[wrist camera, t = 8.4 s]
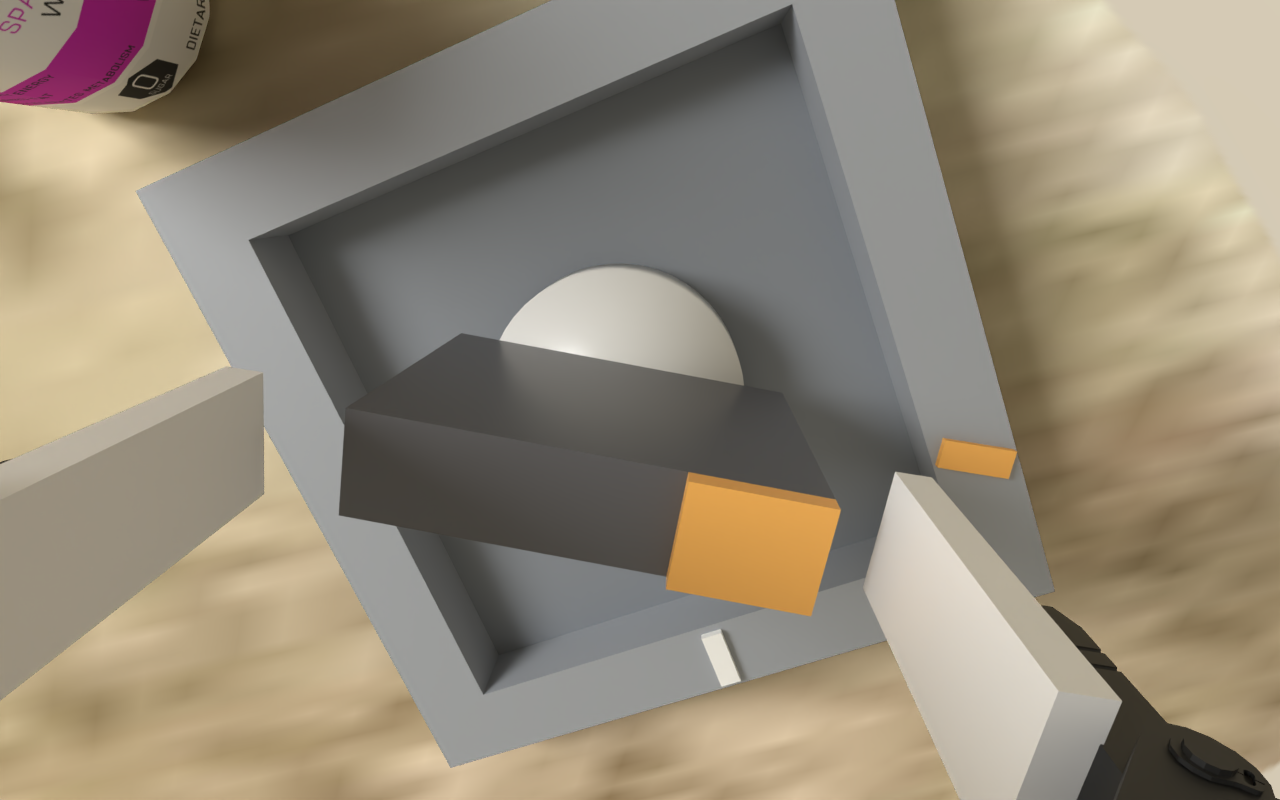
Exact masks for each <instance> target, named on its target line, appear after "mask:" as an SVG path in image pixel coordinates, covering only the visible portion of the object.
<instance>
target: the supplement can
mask: <svg viewBox="0 0 1280 800" xmlns="http://www.w3.org/2000/svg"><path fill="white" fill-rule="evenodd" d="M209 17H210V4H209V0H0V102H6V103H14V104H22V105H29V106H37V107H45V108H52V109H60V110H68V111H75V112H83V113H90V114H95V113H113V112H131V111H135V110H137V109H139V108H141V107H143V106H145V105H147V104H149V103H151V102H153V101H155V100H157V99H159V98H161V97H163V96H165V95H167V94H169V93H170V92H171V91H172V90H173V88H174V87H175V86H176V85H177V83H178V82H179V81H180V80H181V78H182V77H183V76H184V75H185V73H186V72H187V71H188V70H189V68H190V67H191V66H192V65H193V63H194V62H195V61H196V59H197V56H198V53H199V49H200V46H201V43H202V40H203V36H204V33H205V30H206V26H207V23H208V20H209Z"/></svg>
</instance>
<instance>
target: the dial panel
mask: <svg viewBox="0 0 1280 800" xmlns="http://www.w3.org/2000/svg"><path fill="white" fill-rule="evenodd" d="M136 193H137V195H138V196H139V198H140V200H141V202H142V204H143V206H144V207H145V209H146V211H147V213H148V215H149V216H150V218H151V220H152V222H153V224H154V226H155V227H156V229H157V231H158V233H159V235H160V237H161V238H162V240H163V242H164V244H165V246H166V248H167V249H168V251H169V253H170V255H171V257H172V259H173V260H174V262H175V264H176V266H177V268H178V270H179V271H180V273H181V275H182V277H183V279H184V281H185V282H186V284H187V286H188V288H189V290H190V292H191V293H192V295H193V297H194V299H195V301H196V303H197V304H198V306H199V308H200V310H201V312H202V314H203V315H204V317H205V319H206V321H207V323H208V324H209V326H210V328H211V330H212V332H213V334H214V335H215V337H216V339H217V341H218V343H219V345H220V346H221V348H222V350H223V352H224V354H225V356H226V357H227V359H228V361H229V363H230V365H231V367H232V368H239V369H245V370H252V371H258V372H263V403H264V427H265V429H266V431H267V433H268V434H269V436H270V438H271V440H272V442H273V443H274V445H275V447H276V449H277V451H278V453H279V454H280V456H281V458H282V460H283V462H284V464H285V465H286V467H287V469H288V471H289V473H290V475H291V476H292V478H293V480H294V482H295V484H296V486H297V487H298V489H299V491H300V493H301V495H302V497H303V498H304V500H305V502H306V504H307V506H308V508H309V509H310V511H311V513H312V515H313V517H314V519H315V520H316V522H317V524H318V526H319V528H320V530H321V531H322V533H323V535H324V537H325V539H326V541H327V542H328V544H329V546H330V548H331V550H332V552H333V553H334V555H335V557H336V559H337V561H338V562H339V564H340V566H341V568H342V570H343V572H344V573H345V575H346V577H347V579H348V581H349V583H350V584H351V586H352V588H353V590H354V592H355V594H356V595H357V597H358V599H359V601H360V603H361V605H362V606H363V608H364V610H365V612H366V614H367V616H368V617H369V619H370V621H371V623H372V625H373V627H374V628H375V630H376V632H377V634H378V636H379V638H380V639H381V641H382V643H383V645H384V647H385V649H386V650H387V652H388V654H389V656H390V658H391V660H392V661H393V663H394V665H395V667H396V669H397V670H398V672H399V674H400V676H401V678H402V680H403V681H404V683H405V685H406V687H407V689H408V691H409V692H410V694H411V696H412V698H413V700H414V702H415V703H416V705H417V707H418V709H419V711H420V713H421V714H422V716H423V718H424V720H425V722H426V724H427V725H428V727H429V729H430V731H431V733H432V735H433V736H434V738H435V740H436V742H437V744H438V746H439V747H440V749H441V751H442V753H443V755H444V757H445V758H446V760H447V762H448V764H449V766H450V768H452V767H455V766H458V765H462V764H465V763H469V762H472V761H476V760H479V759H482V758H486V757H489V756H493V755H496V754H500V753H503V752H506V751H510V750H513V749H517V748H520V747H524V746H527V745H530V744H534V743H537V742H541V741H544V740H547V739H551V738H554V737H558V736H561V735H565V734H568V733H571V732H575V731H578V730H582V729H585V728H589V727H592V726H595V725H599V724H602V723H606V722H609V721H613V720H616V719H619V718H623V717H626V716H630V715H633V714H637V713H640V712H643V711H647V710H650V709H654V708H657V707H661V706H664V705H667V704H671V703H674V702H678V701H681V700H685V699H688V698H691V697H695V696H698V695H702V694H705V693H708V692H712V691H715V690H719V689H722V688H726V687H729V686H732V685H736V684H739V683H743V682H746V681H750V680H753V679H756V678H760V677H763V676H767V675H770V674H774V673H777V672H780V671H784V670H787V669H791V668H794V667H798V666H801V665H804V664H808V663H811V662H815V661H818V660H822V659H825V658H828V657H832V656H835V655H839V654H842V653H846V652H849V651H852V650H856V649H859V648H863V647H866V646H870V645H873V644H876V643H880V642H883V641H887V639H886V637H885V635H884V633H883V631H882V629H881V626H880V624H879V622H878V620H877V618H876V615H875V613H874V611H873V609H872V607H871V604H870V602H869V600H868V598H867V596H866V594H865V591H864V589H863V585H864V581H865V578H866V574H867V571H868V567H869V564H870V560H871V556H872V553H873V549H874V546H875V542H876V538H877V535H878V531H879V528H880V524H881V521H882V517H883V513H884V510H885V506H886V503H887V499H888V496H889V492H890V488H891V485H892V481H893V478H894V474H895V472H901V473H907V474H913V475H920V476H926V477H932V478H933V479H934V480H935V482H936V483H937V484H938V485H939V486H940V488H941V489H942V490H943V491H944V492H945V493H946V495H947V496H948V497H949V498H950V499H951V500H952V502H953V503H954V504H955V505H956V506H957V507H958V509H959V510H960V511H961V512H962V513H963V515H964V516H965V517H966V518H967V519H968V520H969V522H970V523H971V524H972V525H973V526H974V527H975V529H976V530H977V531H978V532H979V533H980V535H981V536H982V537H983V538H984V539H985V540H986V542H987V543H988V544H989V545H990V546H991V547H992V549H993V550H994V551H995V552H996V553H997V555H998V556H999V557H1000V558H1001V559H1002V560H1003V562H1004V563H1005V564H1006V565H1007V566H1008V567H1009V569H1010V570H1011V571H1012V572H1013V573H1014V575H1015V576H1016V577H1017V578H1018V579H1019V580H1020V582H1021V583H1022V584H1023V585H1024V586H1025V587H1026V589H1027V590H1028V591H1029V592H1030V593H1031V594H1032V596H1033V597H1037V596H1041V595H1044V594H1048V593H1051V592H1055V590H1054V586H1053V582H1052V579H1051V575H1050V571H1049V568H1048V564H1047V560H1046V557H1045V553H1044V549H1043V546H1042V542H1041V538H1040V534H1039V531H1038V527H1037V523H1036V520H1035V516H1034V512H1033V509H1032V505H1031V501H1030V498H1029V494H1028V490H1027V486H1026V483H1025V479H1024V475H1023V472H1022V468H1021V464H1020V461H1019V457H1018V453H1017V450H1016V446H1015V442H1014V439H1013V435H1012V431H1011V427H1010V424H1009V420H1008V416H1007V413H1006V409H1005V405H1004V402H1003V398H1002V394H1001V391H1000V387H999V383H998V380H997V376H996V372H995V368H994V365H993V361H992V357H991V354H990V350H989V346H988V343H987V339H986V335H985V332H984V328H983V324H982V321H981V317H980V313H979V309H978V306H977V302H976V298H975V295H974V291H973V287H972V284H971V280H970V276H969V273H968V269H967V265H966V262H965V258H964V254H963V250H962V247H961V243H960V239H959V236H958V232H957V228H956V225H955V221H954V217H953V214H952V210H951V206H950V203H949V199H948V195H947V191H946V188H945V184H944V180H943V177H942V173H941V169H940V166H939V162H938V158H937V155H936V151H935V147H934V144H933V140H932V136H931V132H930V129H929V125H928V121H927V118H926V114H925V110H924V107H923V103H922V99H921V96H920V92H919V88H918V85H917V81H916V77H915V73H914V70H913V66H912V62H911V59H910V55H909V51H908V48H907V44H906V40H905V37H904V33H903V29H902V26H901V22H900V18H899V14H898V11H897V7H896V3H895V0H551V1H549V2H547V3H544V4H542V5H540V6H538V7H536V8H534V9H531V10H529V11H527V12H525V13H523V14H520V15H518V16H516V17H514V18H512V19H510V20H507V21H505V22H503V23H501V24H499V25H496V26H494V27H492V28H490V29H488V30H486V31H483V32H481V33H479V34H477V35H475V36H472V37H470V38H468V39H466V40H464V41H462V42H459V43H457V44H455V45H453V46H451V47H448V48H446V49H444V50H442V51H440V52H438V53H435V54H433V55H431V56H429V57H427V58H425V59H422V60H420V61H418V62H416V63H414V64H411V65H409V66H407V67H405V68H403V69H401V70H398V71H396V72H394V73H392V74H390V75H387V76H385V77H383V78H381V79H379V80H377V81H374V82H372V83H370V84H368V85H366V86H363V87H361V88H359V89H357V90H355V91H353V92H350V93H348V94H346V95H344V96H342V97H339V98H337V99H335V100H333V101H331V102H329V103H326V104H324V105H322V106H320V107H318V108H315V109H313V110H311V111H309V112H307V113H305V114H302V115H300V116H298V117H296V118H294V119H291V120H289V121H287V122H285V123H283V124H281V125H278V126H276V127H274V128H272V129H270V130H267V131H265V132H263V133H261V134H259V135H257V136H254V137H252V138H250V139H248V140H246V141H244V142H241V143H239V144H237V145H235V146H233V147H230V148H228V149H226V150H224V151H222V152H220V153H217V154H215V155H213V156H211V157H209V158H206V159H204V160H202V161H200V162H198V163H196V164H193V165H191V166H189V167H187V168H185V169H182V170H180V171H178V172H176V173H174V174H172V175H169V176H167V177H165V178H163V179H161V180H158V181H156V182H154V183H152V184H150V185H148V186H145V187H143V188H141V189H139V190H137V191H136ZM604 264H633V265H642V266H645V267H649V268H653V269H657V270H660V271H662V272H665V273H667V274H670V275H672V276H674V277H676V278H677V279H679V280H681V281H683V282H684V283H686V284H688V285H689V286H690V287H692V288H693V289H694V290H695V291H697V292H698V293H699V294H700V295H701V296H702V297H703V298H704V299H705V300H706V301H707V302H708V303H709V304H710V305H711V306H712V307H713V308H714V310H715V311H716V312H717V314H718V315H719V316H720V318H721V319H722V321H723V323H724V325H725V326H726V328H727V330H728V332H729V334H730V337H731V339H732V342H733V344H734V347H735V350H736V353H737V355H738V358H739V362H740V366H741V370H742V374H743V381H744V386H748V387H754V388H759V389H764V390H770V391H775V392H781V393H783V395H784V397H785V399H786V401H787V403H788V405H789V407H790V409H791V411H792V413H793V415H794V417H795V419H796V421H797V423H798V425H799V427H800V429H801V431H802V433H803V435H804V437H805V439H806V441H807V443H808V445H809V447H810V449H811V451H812V453H813V455H814V457H815V459H816V461H817V463H818V465H819V467H820V469H821V471H822V473H823V475H824V477H825V479H826V481H827V483H828V485H829V487H830V489H831V491H832V493H833V495H834V497H835V499H836V501H837V503H838V505H839V507H840V509H841V512H840V515H839V519H838V522H837V526H836V530H835V533H834V537H833V540H832V544H831V547H830V551H829V554H828V558H827V562H826V565H825V569H824V572H823V576H822V579H821V583H820V586H819V590H818V594H817V597H816V601H815V604H814V608H813V611H812V615H811V616H806V615H800V614H795V613H790V612H784V611H779V610H774V609H768V608H763V607H758V606H752V605H747V604H742V603H736V602H731V601H726V600H720V599H715V598H710V597H704V596H699V595H694V594H688V593H683V592H678V591H672V590H667V589H666V577H665V576H660V575H654V574H649V573H644V572H638V571H633V570H628V569H622V568H617V567H612V566H606V565H601V564H596V563H590V562H585V561H579V560H574V559H569V558H563V557H558V556H553V555H547V554H542V553H537V552H531V551H526V550H521V549H515V548H510V547H505V546H499V545H494V544H489V543H483V542H478V541H473V540H467V539H462V538H457V537H451V536H446V535H441V534H435V533H430V532H425V531H419V530H414V529H409V528H403V527H398V526H392V525H387V524H382V523H376V522H371V521H366V520H360V519H355V518H350V517H344V516H339V502H340V486H341V471H342V455H343V440H344V424H345V409H346V407H348V406H349V405H351V404H352V403H354V402H356V401H357V400H359V399H360V398H362V397H363V396H365V395H366V394H368V393H369V392H371V391H373V390H374V389H376V388H377V387H379V386H380V385H382V384H383V383H385V382H386V381H388V380H390V379H391V378H393V377H394V376H396V375H397V374H399V373H400V372H402V371H403V370H405V369H407V368H408V367H410V366H411V365H413V364H414V363H416V362H417V361H419V360H420V359H422V358H424V357H425V356H427V355H428V354H430V353H431V352H433V351H434V350H436V349H437V348H439V347H441V346H442V345H444V344H445V343H447V342H448V341H450V340H451V339H453V338H454V337H456V336H458V335H459V334H461V333H464V334H469V335H475V336H480V337H485V338H491V339H496V340H500V338H501V336H502V334H503V332H504V330H505V329H506V327H507V326H508V325H509V323H510V322H511V320H512V319H513V317H514V316H515V315H516V314H517V313H518V312H519V311H520V310H521V308H522V307H523V306H524V305H525V304H526V303H527V302H529V301H530V300H531V299H532V298H534V297H535V296H536V295H537V294H538V293H540V292H541V291H543V290H544V289H545V288H547V287H548V286H550V285H551V284H553V283H554V282H556V281H558V280H559V279H561V278H562V277H564V276H567V275H569V274H571V273H573V272H576V271H578V270H581V269H585V268H588V267H592V266H597V265H604Z"/></svg>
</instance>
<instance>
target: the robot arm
mask: <svg viewBox="0 0 1280 800" xmlns="http://www.w3.org/2000/svg"><path fill="white" fill-rule="evenodd" d="M263 494H264V403H263V372H258V371H252V370H245V369H239V368H232V367H224V368H222V369H219V370H217V371H215V372H212V373H210V374H208V375H206V376H203V377H201V378H199V379H196V380H194V381H192V382H189V383H187V384H185V385H182V386H180V387H178V388H175V389H173V390H171V391H169V392H166V393H164V394H162V395H159V396H157V397H155V398H152V399H150V400H148V401H145V402H143V403H141V404H138V405H136V406H134V407H132V408H129V409H127V410H125V411H122V412H120V413H118V414H115V415H113V416H111V417H108V418H106V419H104V420H101V421H99V422H97V423H95V424H92V425H90V426H88V427H85V428H83V429H81V430H78V431H76V432H74V433H71V434H69V435H67V436H64V437H62V438H60V439H58V440H55V441H53V442H51V443H48V444H46V445H44V446H41V447H39V448H37V449H34V450H32V451H30V452H27V453H25V454H23V455H21V456H18V457H16V458H14V459H10V460H6V461H2V462H0V700H2V699H3V698H4V697H6V696H7V695H8V694H9V693H11V692H12V691H13V690H14V689H16V688H17V687H18V686H20V685H21V684H22V683H23V682H25V681H26V680H27V679H28V678H30V677H31V676H32V675H34V674H35V673H36V672H37V671H39V670H40V669H41V668H43V667H44V666H45V665H46V664H48V663H49V662H50V661H51V660H53V659H54V658H55V657H57V656H58V655H59V654H60V653H62V652H63V651H64V650H66V649H67V648H68V647H69V646H71V645H72V644H73V643H74V642H76V641H77V640H78V639H80V638H81V637H82V636H83V635H85V634H86V633H87V632H88V631H90V630H91V629H92V628H94V627H95V626H96V625H97V624H99V623H100V622H101V621H103V620H104V619H105V618H106V617H108V616H109V615H110V614H111V613H113V612H114V611H115V610H117V609H118V608H119V607H120V606H122V605H123V604H124V603H125V602H127V601H128V600H129V599H131V598H132V597H133V596H134V595H136V594H137V593H138V592H140V591H141V590H142V589H143V588H145V587H146V586H147V585H148V584H150V583H151V582H152V581H154V580H155V579H156V578H157V577H159V576H160V575H161V574H162V573H164V572H165V571H166V570H168V569H169V568H170V567H171V566H173V565H174V564H175V563H177V562H178V561H179V560H180V559H182V558H183V557H184V556H185V555H187V554H188V553H189V552H191V551H192V550H193V549H194V548H196V547H197V546H198V545H200V544H201V543H202V542H203V541H205V540H206V539H207V538H208V537H210V536H211V535H212V534H214V533H215V532H216V531H217V530H219V529H220V528H221V527H222V526H224V525H225V524H226V523H228V522H229V521H230V520H231V519H233V518H234V517H235V516H237V515H238V514H239V513H240V512H242V511H243V510H244V509H245V508H247V507H248V506H249V505H251V504H252V503H253V502H254V501H256V500H257V499H258V498H259V497H261V496H262V495H263ZM863 589H864V591H865V594H866V596H867V598H868V600H869V602H870V604H871V607H872V609H873V611H874V613H875V615H876V618H877V620H878V622H879V624H880V626H881V629H882V631H883V633H884V635H885V637H886V639H887V642H888V644H889V646H890V648H891V650H892V653H893V655H894V657H895V659H896V661H897V663H898V666H899V668H900V670H901V672H902V674H903V677H904V679H905V681H906V683H907V685H908V688H909V690H910V692H911V694H912V696H913V698H914V701H915V703H916V705H917V707H918V709H919V712H920V714H921V716H922V718H923V720H924V722H925V725H926V727H927V729H928V731H929V733H930V736H931V738H932V740H933V742H934V744H935V747H936V749H937V751H938V753H939V755H940V757H941V760H942V762H943V764H944V766H945V768H946V771H947V773H948V775H949V777H950V779H951V781H952V784H953V786H954V788H955V790H956V792H957V795H958V797H959V799H960V800H1280V799H1277V798H1275V796H1274V793H1273V790H1272V787H1271V785H1270V784H1269V783H1268V781H1267V780H1266V779H1265V778H1264V777H1263V775H1262V774H1261V773H1260V772H1259V771H1258V770H1257V768H1255V767H1254V766H1253V765H1252V764H1250V763H1249V762H1248V761H1246V760H1245V759H1244V758H1243V757H1241V756H1240V755H1239V754H1238V753H1236V752H1235V751H1233V750H1231V749H1230V748H1228V747H1226V746H1224V745H1223V744H1221V743H1219V742H1218V741H1216V740H1214V739H1212V738H1211V737H1208V736H1206V735H1203V734H1201V733H1198V732H1196V731H1194V730H1191V729H1189V728H1186V727H1181V726H1177V725H1173V724H1168V723H1167V722H1166V721H1165V720H1164V719H1163V718H1162V717H1161V716H1160V715H1159V714H1158V712H1157V711H1156V710H1155V709H1154V708H1153V707H1152V706H1151V705H1150V704H1149V702H1148V701H1147V700H1146V699H1145V698H1144V697H1143V696H1142V695H1141V694H1140V692H1139V691H1138V690H1137V689H1136V688H1135V687H1134V686H1133V685H1132V684H1131V682H1130V681H1129V680H1128V679H1127V678H1126V677H1125V676H1124V675H1123V673H1122V672H1118V671H1117V667H1116V666H1115V665H1114V663H1113V662H1112V661H1111V660H1110V659H1109V658H1108V657H1107V656H1106V655H1105V654H1104V653H1101V649H1100V648H1099V647H1098V646H1097V645H1096V643H1095V642H1094V641H1093V640H1092V639H1091V638H1090V637H1089V636H1088V635H1087V633H1086V632H1085V631H1084V630H1083V629H1082V628H1081V627H1080V626H1078V625H1077V624H1075V623H1074V622H1073V621H1071V620H1070V619H1068V618H1067V617H1066V616H1064V615H1063V614H1061V613H1060V612H1059V611H1057V610H1056V609H1054V608H1053V607H1049V606H1042V605H1040V604H1039V603H1038V602H1037V600H1036V599H1035V598H1034V597H1033V596H1032V594H1031V593H1030V592H1029V591H1028V590H1027V589H1026V587H1025V586H1024V585H1023V584H1022V583H1021V582H1020V580H1019V579H1018V578H1017V577H1016V576H1015V575H1014V573H1013V572H1012V571H1011V570H1010V569H1009V567H1008V566H1007V565H1006V564H1005V563H1004V562H1003V560H1002V559H1001V558H1000V557H999V556H998V555H997V553H996V552H995V551H994V550H993V549H992V547H991V546H990V545H989V544H988V543H987V542H986V540H985V539H984V538H983V537H982V536H981V535H980V533H979V532H978V531H977V530H976V529H975V527H974V526H973V525H972V524H971V523H970V522H969V520H968V519H967V518H966V517H965V516H964V515H963V513H962V512H961V511H960V510H959V509H958V507H957V506H956V505H955V504H954V503H953V502H952V500H951V499H950V498H949V497H948V496H947V495H946V493H945V492H944V491H943V490H942V489H941V488H940V486H939V485H938V484H937V483H936V482H935V480H934V479H933V478H932V477H926V476H920V475H913V474H907V473H901V472H895V474H894V478H893V481H892V485H891V488H890V492H889V496H888V499H887V503H886V506H885V510H884V513H883V517H882V521H881V524H880V528H879V531H878V535H877V538H876V542H875V546H874V549H873V553H872V556H871V560H870V564H869V567H868V571H867V574H866V578H865V581H864V585H863Z"/></svg>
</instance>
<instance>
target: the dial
mask: <svg viewBox="0 0 1280 800" xmlns="http://www.w3.org/2000/svg"><path fill="white" fill-rule="evenodd" d="M840 512H841V509H840V507H839V505H838V503H837V501H836V499H835V497H834V495H833V493H832V491H831V489H830V487H829V485H828V483H827V481H826V479H825V477H824V475H823V473H822V471H821V469H820V467H819V465H818V463H817V461H816V459H815V457H814V455H813V453H812V451H811V449H810V447H809V445H808V443H807V441H806V439H805V437H804V435H803V433H802V431H801V429H800V427H799V425H798V423H797V421H796V419H795V417H794V415H793V413H792V411H791V409H790V407H789V405H788V403H787V401H786V399H785V397H784V395H783V393H781V392H775V391H770V390H764V389H759V388H754V387H748V386H744V381H743V374H742V370H741V366H740V362H739V358H738V355H737V353H736V350H735V347H734V344H733V342H732V339H731V337H730V334H729V332H728V330H727V328H726V326H725V325H724V323H723V321H722V319H721V318H720V316H719V315H718V314H717V312H716V311H715V310H714V308H713V307H712V306H711V305H710V304H709V303H708V302H707V301H706V300H705V299H704V298H703V297H702V296H701V295H700V294H699V293H698V292H697V291H695V290H694V289H693V288H692V287H690V286H689V285H688V284H686V283H684V282H683V281H681V280H679V279H677V278H676V277H674V276H672V275H670V274H667V273H665V272H662V271H660V270H657V269H653V268H649V267H645V266H642V265H633V264H604V265H597V266H592V267H588V268H585V269H581V270H578V271H576V272H573V273H571V274H569V275H567V276H564V277H562V278H561V279H559V280H558V281H556V282H554V283H553V284H551V285H550V286H548V287H547V288H545V289H544V290H543V291H541V292H540V293H538V294H537V295H536V296H535V297H534V298H532V299H531V300H530V301H529V302H527V303H526V304H525V305H524V306H523V307H522V308H521V310H520V311H519V312H518V313H517V314H516V315H515V316H514V317H513V319H512V320H511V322H510V323H509V325H508V326H507V327H506V329H505V330H504V332H503V334H502V336H501V338H500V340H496V339H491V338H485V337H480V336H475V335H469V334H464V333H461V334H459V335H458V336H456V337H454V338H453V339H451V340H450V341H448V342H447V343H445V344H444V345H442V346H441V347H439V348H437V349H436V350H434V351H433V352H431V353H430V354H428V355H427V356H425V357H424V358H422V359H420V360H419V361H417V362H416V363H414V364H413V365H411V366H410V367H408V368H407V369H405V370H403V371H402V372H400V373H399V374H397V375H396V376H394V377H393V378H391V379H390V380H388V381H386V382H385V383H383V384H382V385H380V386H379V387H377V388H376V389H374V390H373V391H371V392H369V393H368V394H366V395H365V396H363V397H362V398H360V399H359V400H357V401H356V402H354V403H352V404H351V405H349V406H348V407H346V409H345V424H344V440H343V455H342V471H341V486H340V502H339V516H344V517H350V518H355V519H360V520H366V521H371V522H376V523H382V524H387V525H392V526H398V527H403V528H409V529H414V530H419V531H425V532H430V533H435V534H441V535H446V536H451V537H457V538H462V539H467V540H473V541H478V542H483V543H489V544H494V545H499V546H505V547H510V548H515V549H521V550H526V551H531V552H537V553H542V554H547V555H553V556H558V557H563V558H569V559H574V560H579V561H585V562H590V563H596V564H601V565H606V566H612V567H617V568H622V569H628V570H633V571H638V572H644V573H649V574H654V575H660V576H665V577H666V589H667V590H672V591H678V592H683V593H688V594H694V595H699V596H704V597H710V598H715V599H720V600H726V601H731V602H736V603H742V604H747V605H752V606H758V607H763V608H768V609H774V610H779V611H784V612H790V613H795V614H800V615H806V616H811V615H812V611H813V608H814V604H815V601H816V597H817V594H818V590H819V586H820V583H821V579H822V576H823V572H824V569H825V565H826V562H827V558H828V554H829V551H830V547H831V544H832V540H833V537H834V533H835V530H836V526H837V522H838V519H839V515H840Z"/></svg>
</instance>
